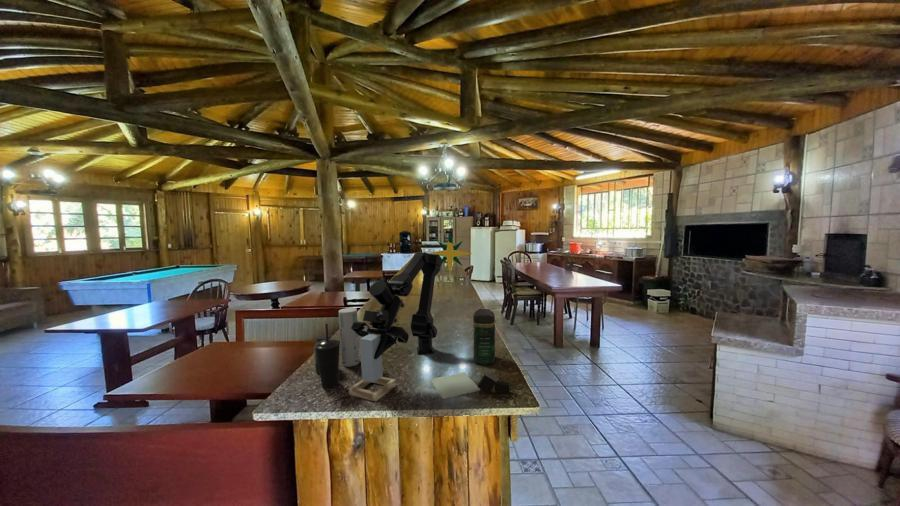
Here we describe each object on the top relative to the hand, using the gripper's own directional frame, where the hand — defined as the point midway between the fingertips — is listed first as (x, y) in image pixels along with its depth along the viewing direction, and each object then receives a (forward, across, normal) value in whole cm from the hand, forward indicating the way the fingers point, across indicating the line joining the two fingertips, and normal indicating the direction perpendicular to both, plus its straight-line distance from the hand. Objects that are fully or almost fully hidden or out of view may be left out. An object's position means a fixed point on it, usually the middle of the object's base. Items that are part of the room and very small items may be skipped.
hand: (368, 357), depth 99 cm
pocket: (+7, 0, +9) cm, 11 cm away
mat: (-2, +22, +17) cm, 28 cm away
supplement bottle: (+3, -25, +13) cm, 28 cm away
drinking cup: (+9, -15, +7) cm, 19 cm away
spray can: (-2, -20, +18) cm, 27 cm away
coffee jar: (-17, +24, +33) cm, 44 cm away
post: (+4, 0, +6) cm, 7 cm away
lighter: (-2, +34, +18) cm, 39 cm away
